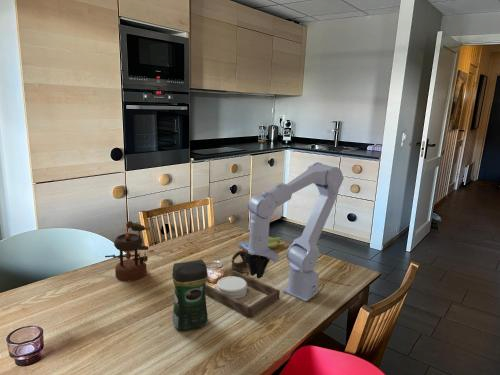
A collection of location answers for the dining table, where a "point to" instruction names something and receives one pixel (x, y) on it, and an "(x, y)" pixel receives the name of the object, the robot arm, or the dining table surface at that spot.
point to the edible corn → (273, 242)
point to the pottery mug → (241, 264)
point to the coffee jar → (189, 295)
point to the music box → (130, 242)
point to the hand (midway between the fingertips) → (256, 276)
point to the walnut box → (241, 307)
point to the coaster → (232, 286)
